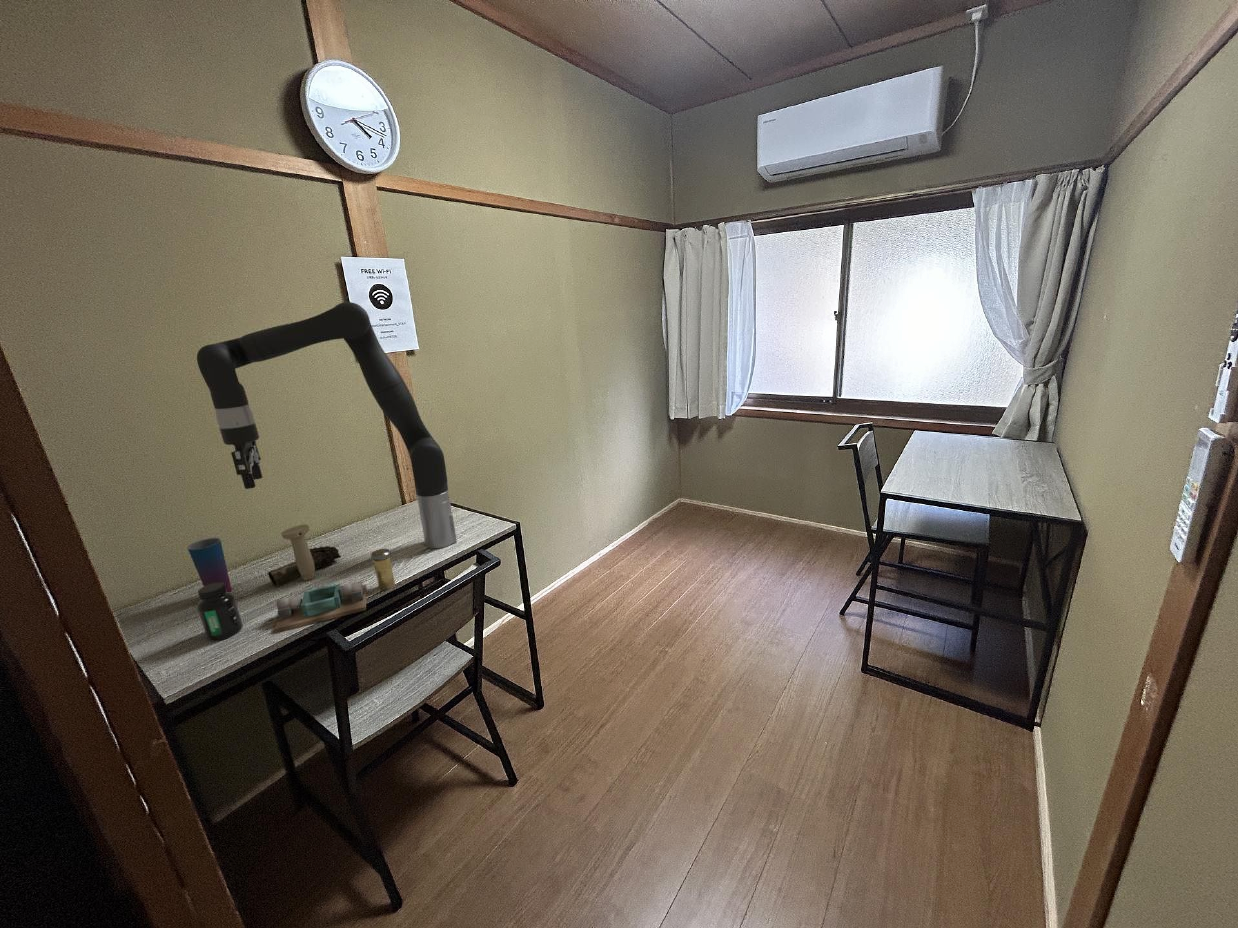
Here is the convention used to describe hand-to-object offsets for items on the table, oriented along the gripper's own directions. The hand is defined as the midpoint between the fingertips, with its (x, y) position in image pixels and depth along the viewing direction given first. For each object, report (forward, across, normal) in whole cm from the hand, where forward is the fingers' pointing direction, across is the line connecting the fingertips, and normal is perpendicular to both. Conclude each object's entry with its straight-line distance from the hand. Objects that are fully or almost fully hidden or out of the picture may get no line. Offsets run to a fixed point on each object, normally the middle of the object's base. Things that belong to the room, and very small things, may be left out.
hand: (254, 483), depth 133 cm
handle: (+29, -4, -7) cm, 30 cm away
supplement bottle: (+28, -24, +8) cm, 38 cm away
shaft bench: (+28, -24, -13) cm, 39 cm away
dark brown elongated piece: (+29, +1, -6) cm, 30 cm away
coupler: (+29, -20, -27) cm, 44 cm away
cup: (+28, -2, +14) cm, 32 cm away
